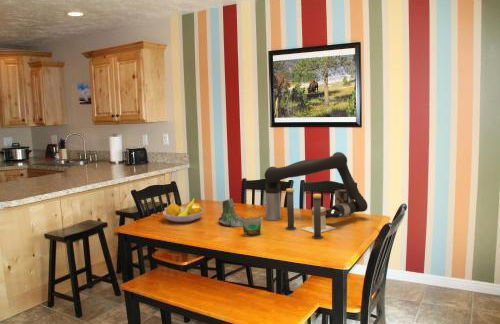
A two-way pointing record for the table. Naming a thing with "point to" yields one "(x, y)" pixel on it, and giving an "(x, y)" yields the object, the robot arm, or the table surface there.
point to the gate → (316, 213)
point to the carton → (323, 218)
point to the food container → (251, 226)
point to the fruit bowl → (183, 212)
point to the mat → (321, 230)
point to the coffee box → (341, 197)
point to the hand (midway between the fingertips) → (320, 215)
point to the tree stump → (230, 215)
